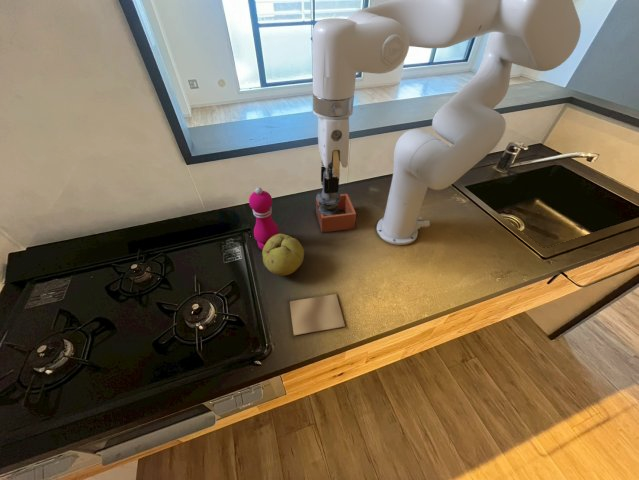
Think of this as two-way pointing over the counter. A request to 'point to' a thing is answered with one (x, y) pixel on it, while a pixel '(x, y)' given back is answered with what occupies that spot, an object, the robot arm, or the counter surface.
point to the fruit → (282, 254)
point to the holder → (338, 216)
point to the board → (316, 314)
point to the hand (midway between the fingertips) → (329, 186)
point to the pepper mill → (262, 216)
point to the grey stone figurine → (328, 200)
